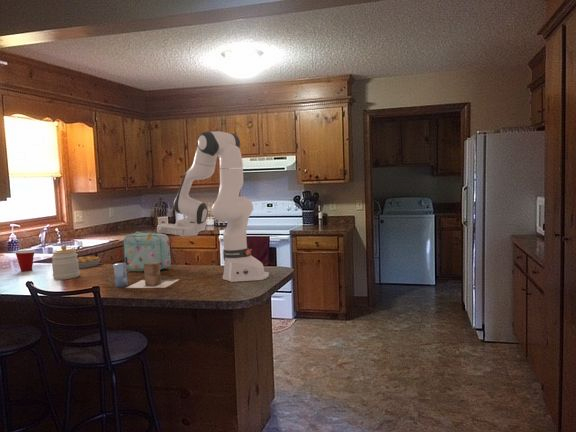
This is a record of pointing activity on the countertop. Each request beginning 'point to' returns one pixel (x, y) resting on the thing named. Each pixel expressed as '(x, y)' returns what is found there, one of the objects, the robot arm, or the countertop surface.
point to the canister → (120, 275)
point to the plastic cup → (25, 259)
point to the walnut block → (152, 274)
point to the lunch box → (146, 250)
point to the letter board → (163, 285)
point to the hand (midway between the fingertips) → (166, 232)
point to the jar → (65, 263)
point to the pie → (88, 261)
